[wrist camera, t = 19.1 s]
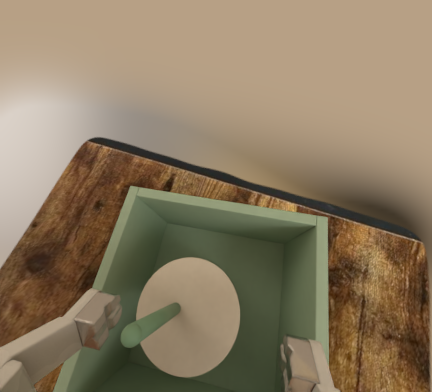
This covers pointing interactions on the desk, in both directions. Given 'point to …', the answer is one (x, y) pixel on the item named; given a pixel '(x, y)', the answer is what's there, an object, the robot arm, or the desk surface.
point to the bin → (235, 270)
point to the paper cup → (186, 317)
